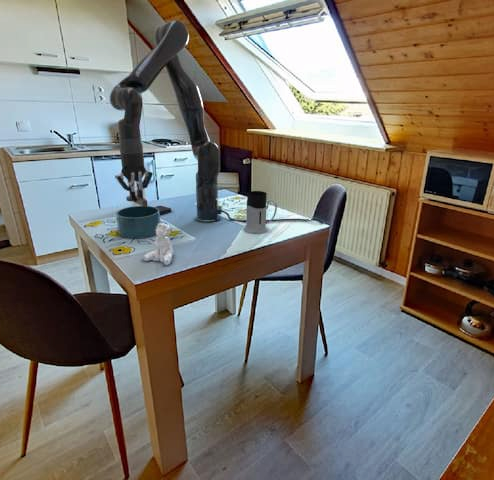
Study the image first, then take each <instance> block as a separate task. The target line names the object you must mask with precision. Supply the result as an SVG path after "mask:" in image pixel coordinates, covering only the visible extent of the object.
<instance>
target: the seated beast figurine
mask: <svg viewBox="0 0 494 480" xmlns="http://www.w3.org/2000/svg"><path fill="white" fill-rule="evenodd" d="M173 229H174V228H173V227H170V226H169V225H168V224H167V223H164V222H160V223H159V224H158V225H157V227H156V235H155V236H156V237H155V241H154V242H153V245H154V246H155V249H154V250H152V251H148V252H146V253H145V254H144V255H143V260H144V261H145V262H151V261H155V262H156V261H157V262H161V263H163V264H164V265H165V266H168V265H170V264H171V263H172V258H173V255H174V248H173V246H172V244H171V239H170V238H169V237H168V236H170V233H171V232H173Z"/></svg>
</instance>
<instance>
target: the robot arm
mask: <svg viewBox="0 0 494 480" xmlns="http://www.w3.org/2000/svg"><path fill="white" fill-rule="evenodd" d="M189 39H190V35H189V30H188V28H187V26H186V24H185V22H183V21H181V20H180V19H172V20H171V19H170V20H168V21H166V22H164V23H162V24H160V25H158V26H157V27H155V30H154V41H155V45H156V46H155V47H154V48H152V50H150V51H149V52H148V53H147V54H146V55H145V56H144V57H142V58H141V59H140V61H139V62H137V64H136V65H135V66H134V68H133V69H132V70H131V72H130V73H129V75H127V76H126V77H124V78H123V79H122V80H121V81H120V82H118V83H117V84H116V85H115V86H114V87H113V88H112V90H111V91H110V94H109V102H110V104H111V106H112V108H113V109H115V110H117V111H122V112H123V111H124V115H123V118H121V119H119V120H118V122H117V128H118V129H117V131H118V137H119V140H118V141H119V145H118V146H119V153H120V154H119V155H120V161H121V162H120V163H121V171H120V173H119V174H118V175H117V174H116V175H115V176H114V178H115V180H116V181H117V182H118V184H119V185H120V186H121V187H122V189H123V190H125V191H127V192H128V193H129V192H130V194H129V196H130V199H131V200H132V201H133V202H136V195H135V188H134V186H137V189H138V190H137V196H139V197H141V198H143V191H142V190H143V189H144V188H146V189H147V188H148V187H149V184H150V182H151V179H152V177H153V175H154V173H153V172H151V171H149V170H147V169H146V167H145V157H144V147H143V146H144V145H143V140H142V133H141V119H142V114H143V113H142V112H143V97H142V94H143V93H146V92H147V91H148V90H149V88H150V87H151V86H152V85H153V83H154V81H155V80H156V79H157V78H158V76H159V75H160V74H161V72H162V71H163V70H164V68H165V69H166V72H167V75H168V77H169V80H170V83H171V86H172V89H173V92H174V96H175V98H176V99H175V100H176V102H177V105H178V109H179V111H180V114H181V117H182V119H183V122H184V126H185V128H186V130H187V133H188V136H189V141H190V146H191V151H192V154H193V158H195V160H196V161H197V172H195V199H196V200H195V201H196V220H197V221H199V222H204V223H211V222H218V221H219V215H222V213H223V214H225V215H226V216H227V218H228V219H229V220H230V221H233V222H241V223H244V222H245V223H246V219H241V220H239V219H238V220H237V219H233V218H232V217H230V214H229V213H228V212H227V211H226V210H223V207H222V206H220V205H219V186H218V185H219V184H218V183H219V174H220V160H221V159H220V157H221V156H220V155H221V154H220V149H219V146H218V145H217V144H216V143H215V142H213V141H211V140H210V138H209V135H208V133H207V130H206V126H205V112H204V104H203V100H202V96H201V93H200V89H199V87H198V84H197V83H196V82H195V80H194V79H193V78H192V77H191V75H190V74H189V73H188V72H187V71H186V69H185V67H184V66H183V64H182V62H181V59H180V56H179V53H180V52H182V50H183V49H185V47H186V46H187V45H188V44H189V43H188V42H189ZM143 177H144V178H143ZM124 179H126V181H127V183H126V182H125V180H124ZM309 219H311V220H309ZM270 220H271V219H266V223H267V222H268V221H270ZM281 221H283V222H284V221H302V222H303V221H304V222H312V221H315V222H319V223H320V224H322V225H324V224H325V223H324V222H323V221H322V220H320V219H318V218H277V219H273V220H271V221H270V222H281Z"/></svg>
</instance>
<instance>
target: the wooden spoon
mask: <svg viewBox="0 0 494 480" xmlns="http://www.w3.org/2000/svg"><path fill="white" fill-rule="evenodd" d="M125 198H126V201H127V202H131V201H132V200H131V199H130V195H127V196H126V197H125ZM135 203H137V204H139V205H141V206H143V207H144V206H149V205H148V200H147V199H146V200H145V199H143V198H141V197H139V196H137V195H136V202H135Z"/></svg>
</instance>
